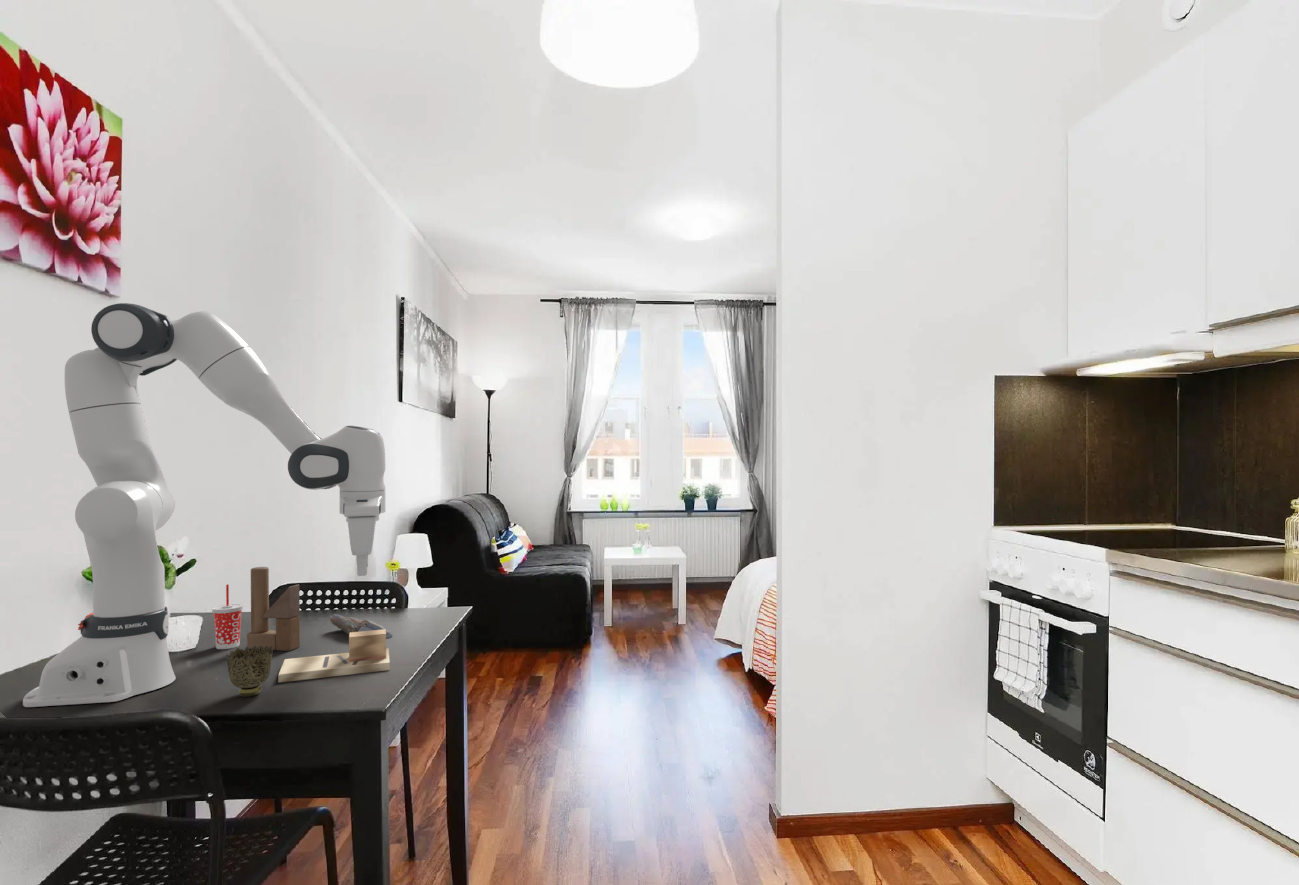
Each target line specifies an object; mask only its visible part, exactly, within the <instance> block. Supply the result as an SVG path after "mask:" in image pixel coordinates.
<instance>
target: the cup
mask: <svg viewBox="0 0 1299 885" xmlns="http://www.w3.org/2000/svg"><path fill="white" fill-rule="evenodd" d="M273 651H274V650H273V648H272V646H271V647H270V648H269V649H268V646H265V649H263V647H262V646H259V647H256V646H254V647H253V649H249V648H248V647H247V646H246V647H245V649H243V648H239V647H236V649H235V650H230V651H229V655H228V653H225V654H226V655H225V656H226V662H227V669H228V670H227V671H228V672H227V673H228V675H229V680H230V683H232V685H233V686H234V687H236V688H238V694H239V696H241V697H245V698H248V697H253V696H257V695H258V694H260V693H261V691H262V690H263V689H262V688H263V687H262V685H263V684H264V683H265V682H266V681H267V680H268V678H269V675H270V673H271V667H272V659H273Z"/></svg>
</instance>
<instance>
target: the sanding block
mask: <svg viewBox="0 0 1299 885" xmlns="http://www.w3.org/2000/svg"><path fill="white" fill-rule="evenodd" d="M386 630H387V629H386V628H385V629H382V630H372V631H361V632H350V634H349V635H348V653H349V662H354V661H364V660H373V659H383V658H386V649H387V638H386Z"/></svg>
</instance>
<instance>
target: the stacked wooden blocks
mask: <svg viewBox="0 0 1299 885" xmlns="http://www.w3.org/2000/svg"><path fill="white" fill-rule="evenodd" d="M269 571H270V569H269V567H267V566H256V567H251V568H250V631H249V632H247V634H246V647H248V648H249V650H252V649H253V647H254V646H256V647H259V646H262V647H263V649H265V646H268V649H269V648H270V647H271V646H272V648H273V651H279V652H280V651H282V652H283V651H285V652H291V651H293V650H296V649H297V648H300V644H301V643H300V642H301V640H300V639H301V637H300V635H301V633H300V631H301V630H300V628H301V627H300V625H301V624H300V622H301V620H300V619H301V618H300V613H301V612H300V584H295V585H291V586H289V587H287V589H286V590H284V592H282V594H281V595H280V596H279V597H278V598H277V600H276V601H275V602H274V603H273V604H272V605H271V606H270V586H269V584H270V582H269V581H270V579H269V577H270V576H269V575H270V574H269V573H270V572H269ZM270 619H275V630H274V629H270Z"/></svg>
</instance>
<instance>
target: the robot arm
mask: <svg viewBox="0 0 1299 885" xmlns="http://www.w3.org/2000/svg"><path fill="white" fill-rule="evenodd" d="M90 330H91V335H92V336H91V337H92V339H93V340H94V341H93V342H94V343H95V345H96V346H97V347H96V348H94V349H88V350H84V351H79V352H78V353H75V354H74V355H71V357H70V358H68V359H67V361H66V363H65V365H64V391H65V400H66V406H67V411H68V414H69V415H68V416H69V418H70V422H71V428H72V431H73V436H74V440H75V441H74V442H75V444H76V448H77V453H78V455H79V457H80V459H81V460H82V461H83V462H84V463H85V466H87V468H88V470H89V472H90V474H91V476H92V478H93V480H94V482H95V484H96V487H94V488H92V489H91V490H90V491H89V492H87V493H86V494H85V495H83V496H82V498H80V500H79V502H77V505H76V508H75V511H74V518H75V522H76V524H77V527H78V528H79V530H80V531H81V532H82V533H83V536H84V537H83V538H84V541H85V542H84V543H85V547H86V550H87V554H88V558H89V562H90V567H91V573H92V603H93V604H92V611H93V612H91V613H89V614H86V616H85V617H84V619H82V620H81V621H80V623H78V624H77V625H78V628H77V630H78V631H79V632H80V635H81V636H80V637H78V638H77V639H76V640H75V641H73V642H72V643H70V644H69V645H68V646H67V647H65V648H64V649H63V650H61V651H60V652H59V653H57V654H56V655H55V656H54V657H53V658H51V659H50V660H49V661H48V662H47V663H46V664H45V666H44V668H43V669H42V672H41V676H40V680H39V685H38V686H37V687H35V688H33V689H32V690H30V691H28V692H27V693H26V694H25V695H24V697H23V699H22V706H23V707H24V708H36V707H48V706H49V707H50V706H67V705H69V706H70V705H83V704H97V703H98V704H101V703H111V702H112V703H113V702H119V701H122V700H125V699H129V698H130V697H133V696H136V695H141V694H144V693H148V692H151V691H155V690H157V689H160V688H163V687H166V686H168V685H170V684H172V683H173V682H175V680H176V675H175V672H174V669H173V667H172V663H171V659H170V654H169V648H168V647H169V646H168V640H167V637H168V635H169V614H168V613H169V612H168V607H167V606H166V598H165V597H166V590H165V589H166V587H165V586H166V585H165V584H166V582H165V581H166V578H165V577H166V576H165V572H166V571H165V570H166V569H165V565H164V562H162V559H161V556H160V551H159V547H158V546H159V545H158V542H157V536H156V532H157V530H159V529H161V528H162V527H164V525H165V524H167V523H168V521H169V520H170V518H171V517H172V515H173V513H174V511H175V506H176V501H175V497H174V495H173V492H172V491H171V490H170V489H169V487H168V484H167V482H166V481H167V480H166V478H165V477H164V476H165V475H164V473H163V471H162V468H161V466H160V464H159V461H158V459H157V457H156V454H155V453H154V449H153V447H152V445H151V441H150V437H149V432H148V428H147V425H146V420H145V416H144V412H143V408H142V403H141V399H140V395H139V391H138V385H137V384H138V382H137V381H138V377H139V376H142V377H144V376H147V375H149V374H152V373H154V372H156V371H159V370H161V369H163V368H166V367H168V366H170V365H172V364H174V363H175V362H177V361H179V362H181V363H183V364H184V365H186V367H187V368H188V369H189V370H191V372H192V373H193V374H194V376H195V377H196V378H197V379H198V380H199V381H200V383H202V384H203V385H204V386H205V388H207V389H208V390H209V392H211V393H212V394H213V395H214V396H215V397H217V398H218V399H219V400H220V401H222V402H223V403H224V404H226V406H229V407H230V408H233V409H235V410H237V411H239V412H241V413H244V414H245V415H248V416H250V417H252V418H254V419H255V420H256V421H259V423H261V424H262V425H263V426H264V427H265V428H266V429H267V430H269V431H270V433H271V434H272V435H273V436H274V437H275V438H276V439H277V441H278V442H280V443H281V445H282V446H283V447H285V449H286V450H287V451H288V452H289V453H290V454H291V455H290V456H289V459H288V461H287V470H288V472H287V473H288V475H289V477H290V478H291V480H292V481H293V482H294V483H295V484H297V485H298V486H299V487H301V488H302V489H303V488H304V489H306V490H315V491H316V490H327V489H332V488H335V487H336V486H337V487H338V488H339V514H340V515H343V517H345V522H346V523H347V526H348V538H349V545H350V551H351V555H352V556H356V557H355V558H356V559H355V560H356V571H357V573H356V574H357V576H358V577H363V576H367V575H368V565H369V562H368V561H369V555H371V554H372V553H373V552H372V551H373V547H374V539H375V538H374V537H375V531H376V530H375V529H376V524H377V523H376V522H378V521H380V515H381V514H382V513H383V514H384V513H385V512H386V486H385V482H384V476H385V471H386V452H385V451H386V449H385V443H384V442H385V441H384V438H383V436H382V435H381V433H380V432H378V431H377V430H375V429H373V428H368V427H363V426H362V427H361V426H357V425H345V426H343V427H342V428H341V429H340V430H338V431H336V432H335V433H333V434H330V435H328V436H326V437H324V438H321V437H320V436H318V435H317V434H316V432H314V431H313V430H312V429H311V428H310V427H309V424H308V425H307V423H306V422H305V421H304V420H303V419H302V418H301V416H299V415H298V413H297V412H296V411H295V410H294V409H293V408H292V406H291V405H290V404H289V403H288V402H287V401H286V399H285V397H284V395H283V394H282V392H281V391H280V389H279V387H278V385H277V384H276V382H275V380H274V379H273V377H272V375H271V374H270V372H269V370H268V368H267V366H265V365H264V363H263V361H262V360H261V358H260V357H259V356H258V354H256V352H255V351H254V350H253V348H251V346H250V345H249V344H248V343H247V342H246V341H245V340H244V339H243V338H242V336H240V335H239V334H238V333H237V332H236V330H234V329H233V328H231V326H230V325H228V324H227V323H226V322H225V321H224V320H222V319H221V318H220V317H218V316H217V315H216V314H214V313H212V312H210V311H204V310H203V311H195V312H190V313H188V314H186V315H184V316H183V317H180V318H179V319H175V320H171V318H170V317H169V316H167V315H166V314H163V313H160V312H158V311H155V310H153V309H150V308H148V307H146V306H142V305H140V304H135V303H127V302H123V303H122V302H120V303H113V304H110V305H108V306H106V307H103V308H102V309H100V310H99V312H97V313H96V315H95V316H94V318H93V320H92V322H91V329H90Z"/></svg>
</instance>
